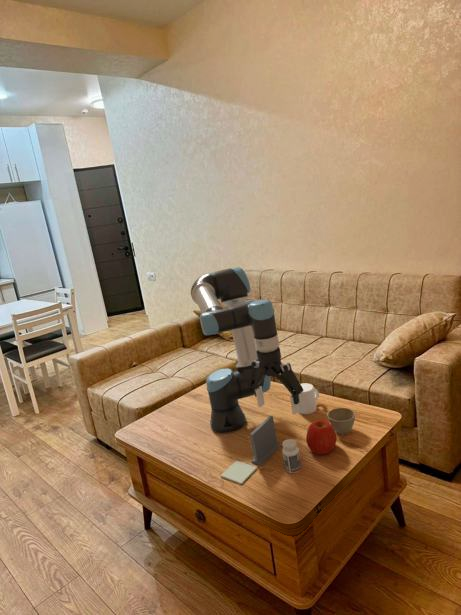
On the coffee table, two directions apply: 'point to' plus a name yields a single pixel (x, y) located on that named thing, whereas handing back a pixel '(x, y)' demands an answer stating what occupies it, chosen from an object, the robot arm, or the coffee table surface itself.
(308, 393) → the mug
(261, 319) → the robot arm
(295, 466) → the pill bottle
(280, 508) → the coffee table surface
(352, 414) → the flower pot
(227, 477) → the mat
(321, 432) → the apple
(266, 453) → the screen
